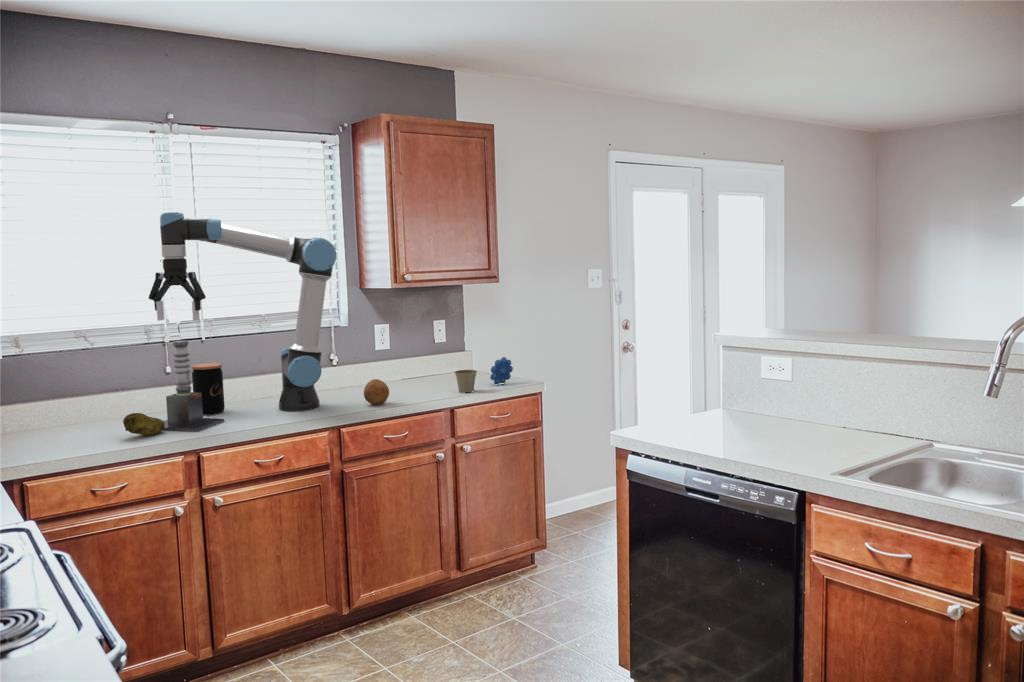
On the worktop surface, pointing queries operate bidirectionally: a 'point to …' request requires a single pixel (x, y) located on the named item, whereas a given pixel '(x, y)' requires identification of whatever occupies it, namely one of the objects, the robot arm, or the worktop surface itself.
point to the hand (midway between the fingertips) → (178, 320)
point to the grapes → (501, 371)
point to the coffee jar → (209, 386)
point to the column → (182, 368)
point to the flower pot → (466, 380)
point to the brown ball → (376, 392)
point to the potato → (143, 424)
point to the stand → (187, 414)
